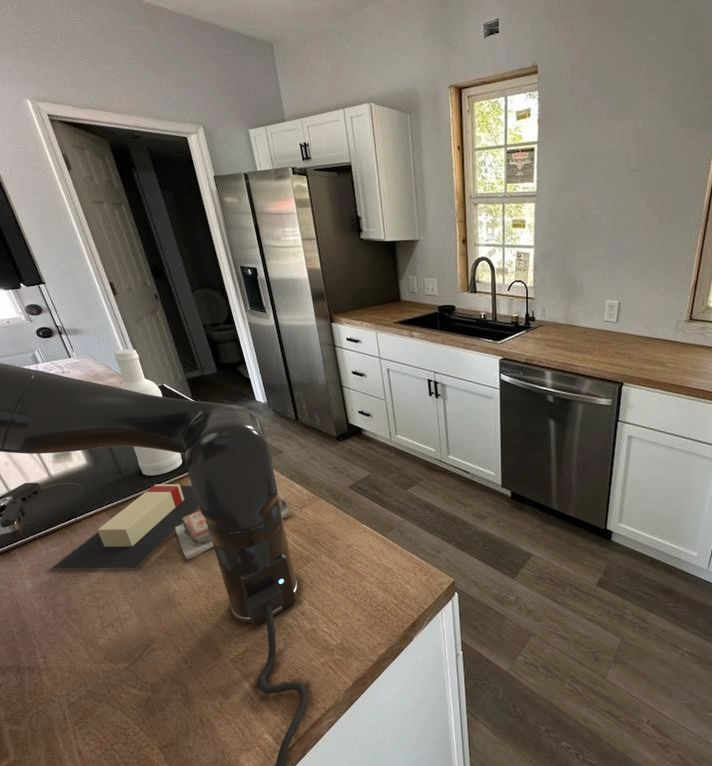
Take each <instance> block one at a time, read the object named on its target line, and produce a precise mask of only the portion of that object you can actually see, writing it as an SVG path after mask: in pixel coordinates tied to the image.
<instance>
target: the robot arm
mask: <svg viewBox="0 0 712 766" xmlns="http://www.w3.org/2000/svg"><path fill="white" fill-rule="evenodd" d="M124 447H129V448H131V447H132V448H134V447H143V448H152V449H159V450H165V451H171V452H176V453H180V454H182V455H184V459H185V460H184V461H185V466H186V471H187V475H188V478H189V481H190V483H191V486H192V487H193V490H194V493H195V496H196V499H197V502H198V505H199V507H198V508H199V511H201V513H202V515H203V516H204V518H205V520H206V523H207V526H208V529H209V532H210V536H211V539H212V543H213V546H214V547H213V548H214V553H215V555H216V559H217V563H218V566H219V570H220V573H221V576H222V580H223V583H224V587H225V590H226V593H227V596H228V600H229V603H230V609H231V612H232V616H234V618H235V619H236V620H238V621H241V622H244V623H252V625H253V626H254V627H256V626H258V625H260V624H262V623H263V622H265V621H266V627H267V639H268V640H267V641H268V643H267V644H268V654H267V660H266V663H265V666H264V669H263V670H262V672H261V673H260V675H259V677H258V680H257V687H258V690H259V691H260V692H262V693H265V694H276V693H281V692H286V691H296V692H297V693H298V695H299V699H300V700H299V706H298V709H297V710H296V713H295V716H294V717H293V719H292V721H291V723H290V725H289V727H288V728H287V731H286V733H285V735H284V737H283V739H282V741H281V744H280V746H279V750H278V754H277V757H276V763H275V766H285V765H286V758H287V753H288V750H289V747H290V745H291V743H292V739H293V738H294V735H295V733H296V731H297V729H298V727H299V725H300V723H301V721H302V719H303V717H304V714H305V712H306V710H307V706H308V703H309V702H308V701H309V696H308V690H307V688H306V685H304V684H303V683H302V682H299V681H288V682H284V683H279V684H278V683H277V684H272V685H271V684H267V682H266V680H267V678H268V676H269V674H270V672H271V670H272V669H273V667H274V664H275V660H276V652H277V641H276V627H275V620H274V616H276V615H278V614H279V613H280V612H282V611H284V610H285V609H287V608H289V607H291V606H292V605H294V604H295V603H296V602H297V599H296V595H297V593H298V587H299V586H298V584H299V583H298V580H297V577H296V575H295V569H294V565H293V561H292V556H291V551H290V546H289V542H288V538H287V533H286V527H285V524H284V518H282V513H281V508H280V504H279V499H278V494H277V492H279V490H278V486H277V482H276V476H275V471H274V465H273V462H272V456H271V452H270V447H269V444H268V441H267V438H266V435H265V431H264V429H263V426H262V424H261V421H260V420H259V419H258V417H256V415H254V414H253V413H252V412H251V411H249V410H247V409H246V408H243V407H240V406H236V405H232V404H225V403H217V402H208V401H200V400H190V399H182V398H174V397H167V396H162V397H159V396H154V395H148V394H143V393H139V392H134V391H130V390H126V389H122V388H119V387H117V386H113V385H108V384H102V383H98V382H94V381H88V380H84V379H78V378H74V377H70V376H65V375H60V374H57V373H52V372H49V371H43V370H38V369H33V368H28V367H24V366H19V365H14V364H8V363H4V362H0V453H12V454H28V455H29V454H31V455H32V454H33V455H34V454H57V453H58V454H59V453H70V452H79V451H87V450H96V449H105V448H106V449H107V448H124ZM277 490H278V491H277ZM42 494H43V490H42V487H41V486H40V484H39V482H24V483H22V484H20V485H18V486H17V487H15V488H13V489H11V490H9V491H8V492H6V493H4V494H2V495H1V496H0V536H1V535H6V536H7V538H13V537H16V536H19V535H20V534H21V533H22V531H23V528H24V525H25V523H26V519H27V517H28V511H27V510H26V507H25V505H27V504H28V503H31V501H33V500H35V499H36V498H38V497H40V496H42Z"/></svg>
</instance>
